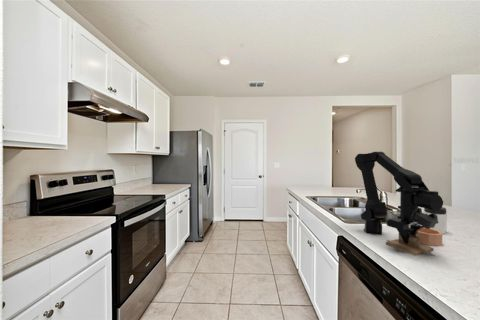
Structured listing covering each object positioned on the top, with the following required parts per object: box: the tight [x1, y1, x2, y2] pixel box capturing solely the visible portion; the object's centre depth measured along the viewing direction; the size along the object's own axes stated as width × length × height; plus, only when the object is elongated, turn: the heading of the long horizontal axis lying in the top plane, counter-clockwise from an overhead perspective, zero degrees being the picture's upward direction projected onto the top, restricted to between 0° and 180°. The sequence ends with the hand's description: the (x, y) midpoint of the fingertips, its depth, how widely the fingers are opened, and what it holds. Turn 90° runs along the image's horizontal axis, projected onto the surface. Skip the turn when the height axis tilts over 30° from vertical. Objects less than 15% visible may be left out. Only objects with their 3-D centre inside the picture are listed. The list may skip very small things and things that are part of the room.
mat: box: [386, 239, 436, 257], centre depth 86 cm, size 12×12×1 cm
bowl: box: [416, 228, 444, 247], centre depth 93 cm, size 10×10×5 cm
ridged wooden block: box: [385, 233, 434, 256], centre depth 86 cm, size 11×11×5 cm
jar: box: [422, 206, 448, 235], centre depth 106 cm, size 9×8×12 cm
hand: (408, 242), depth 86 cm, fingers closed on ridged wooden block, 3 cm apart
